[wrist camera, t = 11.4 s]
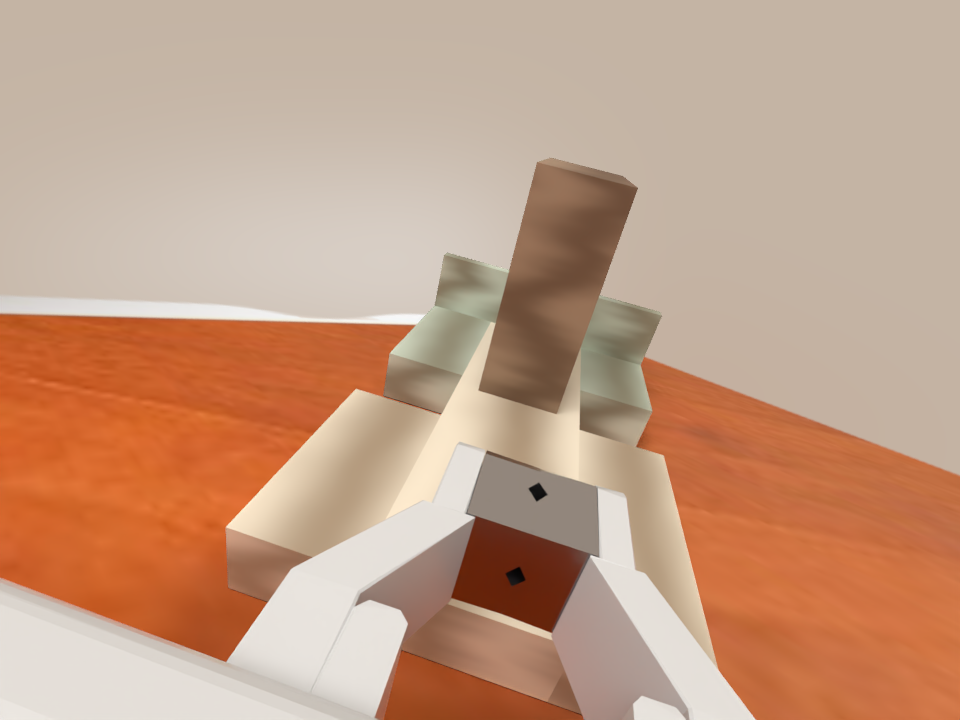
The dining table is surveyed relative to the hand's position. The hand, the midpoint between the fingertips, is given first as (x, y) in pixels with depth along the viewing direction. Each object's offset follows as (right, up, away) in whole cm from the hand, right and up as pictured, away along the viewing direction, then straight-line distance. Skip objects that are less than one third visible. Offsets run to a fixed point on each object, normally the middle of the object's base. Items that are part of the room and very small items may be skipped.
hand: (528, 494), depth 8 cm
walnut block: (+2, +2, +21) cm, 21 cm away
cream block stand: (0, -3, +18) cm, 18 cm away
